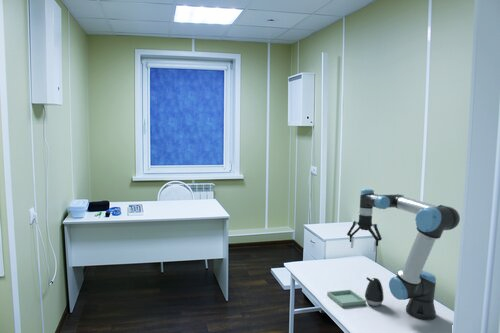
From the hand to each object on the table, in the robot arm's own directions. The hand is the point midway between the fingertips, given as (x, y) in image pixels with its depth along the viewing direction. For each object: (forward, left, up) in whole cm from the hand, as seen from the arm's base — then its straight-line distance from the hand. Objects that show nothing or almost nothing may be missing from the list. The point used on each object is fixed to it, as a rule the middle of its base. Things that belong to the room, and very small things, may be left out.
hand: (363, 249), depth 244 cm
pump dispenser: (-17, +3, -27) cm, 32 cm away
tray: (-9, +16, -27) cm, 32 cm away
